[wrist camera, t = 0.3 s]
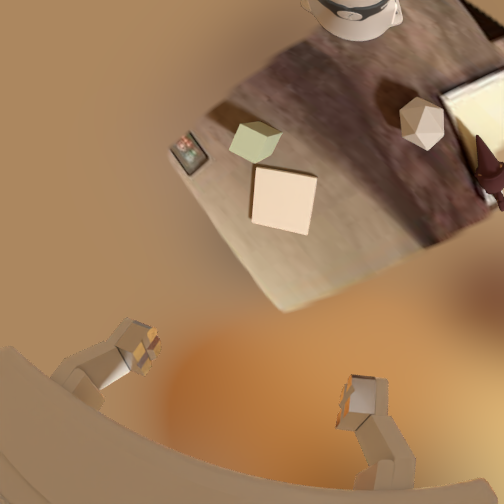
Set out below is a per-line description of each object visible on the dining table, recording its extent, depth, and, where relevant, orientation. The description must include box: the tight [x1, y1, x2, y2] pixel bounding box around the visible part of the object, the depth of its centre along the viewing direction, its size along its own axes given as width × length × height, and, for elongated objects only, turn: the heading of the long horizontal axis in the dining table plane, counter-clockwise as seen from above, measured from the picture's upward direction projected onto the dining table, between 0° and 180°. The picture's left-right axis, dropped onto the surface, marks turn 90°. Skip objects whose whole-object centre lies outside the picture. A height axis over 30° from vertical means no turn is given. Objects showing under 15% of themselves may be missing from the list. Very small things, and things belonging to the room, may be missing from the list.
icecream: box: [474, 135, 504, 211], centre depth 34 cm, size 7×8×15 cm
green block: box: [229, 121, 282, 164], centre depth 47 cm, size 5×5×10 cm
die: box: [399, 97, 444, 151], centre depth 36 cm, size 8×9×10 cm
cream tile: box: [252, 166, 318, 235], centre depth 55 cm, size 12×12×1 cm
